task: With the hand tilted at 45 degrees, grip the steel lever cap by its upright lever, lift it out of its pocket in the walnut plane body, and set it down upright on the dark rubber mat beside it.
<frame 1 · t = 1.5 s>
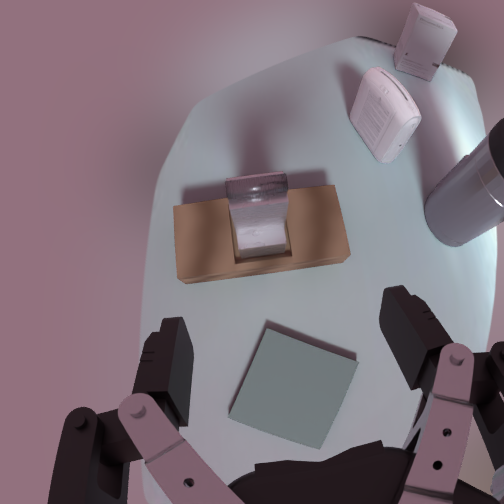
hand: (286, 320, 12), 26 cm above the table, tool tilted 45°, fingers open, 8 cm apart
rubber mat: (293, 390, 35), on the table
photo printer: (372, 138, 44), on the table
plane body: (260, 239, 40), on the table
skincare box: (412, 68, 48), on the table
lever cap: (259, 231, 37), point 3 cm above the table, touching plane body
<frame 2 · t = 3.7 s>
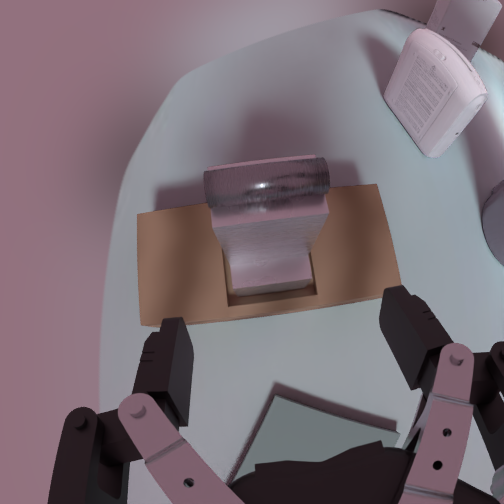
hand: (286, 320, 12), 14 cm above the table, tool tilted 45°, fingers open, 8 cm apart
rubber mat: (310, 472, 22), on the table
photo printer: (413, 125, 31), on the table
plane body: (266, 263, 27), on the table
skincare box: (446, 48, 36), on the table
lever cap: (266, 254, 24), point 3 cm above the table, touching plane body
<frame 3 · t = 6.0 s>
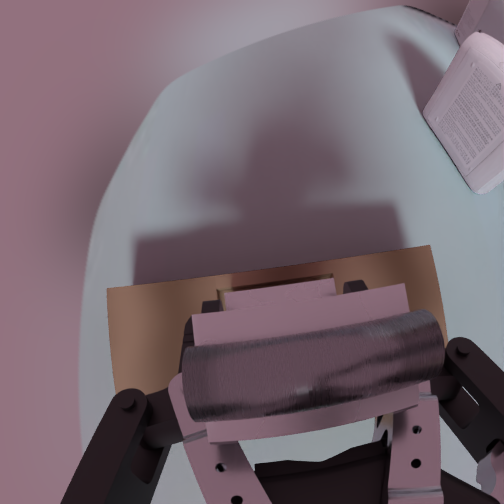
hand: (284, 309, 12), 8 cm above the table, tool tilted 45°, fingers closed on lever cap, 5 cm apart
photo printer: (457, 150, 24), on the table
plane body: (280, 347, 20), on the table
skincare box: (478, 53, 29), on the table
lever cap: (283, 348, 17), point 3 cm above the table, touching gripper, plane body
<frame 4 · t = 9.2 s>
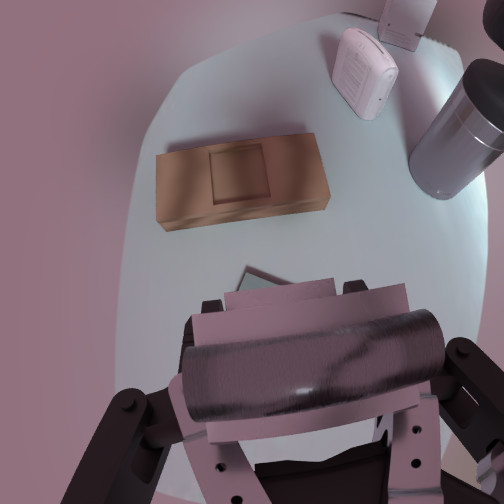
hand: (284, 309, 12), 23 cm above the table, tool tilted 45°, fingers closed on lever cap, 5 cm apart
rubber mat: (275, 341, 34), on the table
photo printer: (354, 98, 43), on the table
plane body: (240, 187, 39), on the table
skincare box: (396, 40, 48), on the table
lever cap: (283, 348, 17), point 18 cm above the table, touching gripper
when the fingers open (7 cm above the table, at t = 12.6 s): lever cap drops 1 cm, resting on rubber mat.
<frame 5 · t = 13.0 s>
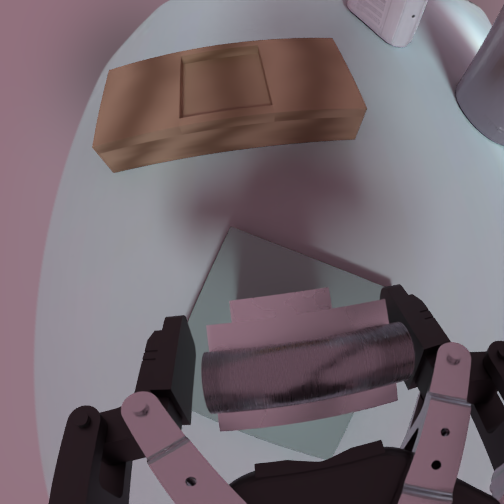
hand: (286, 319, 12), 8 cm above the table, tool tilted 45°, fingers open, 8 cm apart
rubber mat: (280, 347, 19), on the table
photo printer: (377, 26, 29), on the table
plane body: (227, 109, 25), on the table
lever cap: (282, 350, 18), point 1 cm above the table, touching rubber mat
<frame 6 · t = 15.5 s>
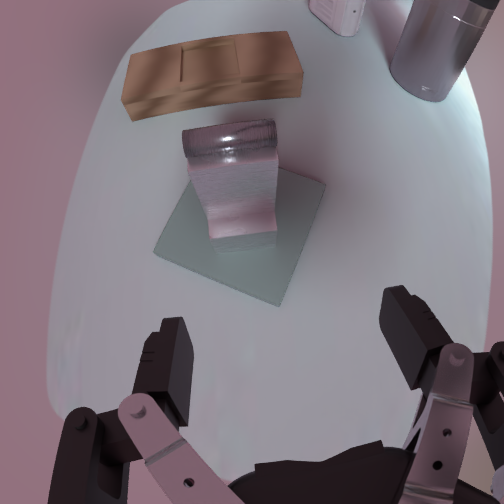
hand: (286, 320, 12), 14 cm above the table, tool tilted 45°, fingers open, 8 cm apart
rubber mat: (241, 220, 28), on the table
photo printer: (332, 22, 38), on the table
plane body: (212, 81, 34), on the table
lever cap: (242, 218, 27), point 1 cm above the table, touching rubber mat
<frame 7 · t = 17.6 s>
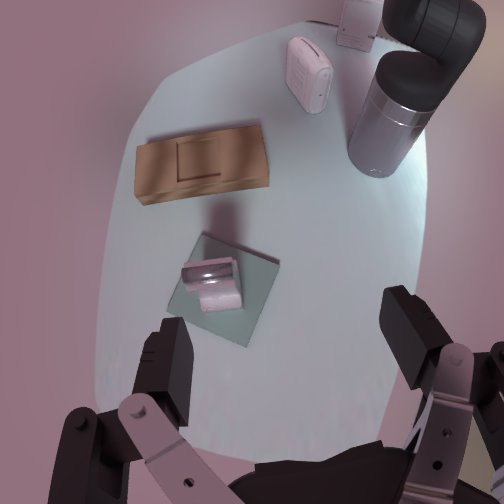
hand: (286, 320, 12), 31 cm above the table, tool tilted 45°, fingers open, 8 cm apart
rubber mat: (223, 290, 43), on the table
photo printer: (304, 96, 52), on the table
plane body: (202, 170, 48), on the table
skincare box: (353, 43, 57), on the table
lever cap: (222, 290, 42), point 1 cm above the table, touching rubber mat
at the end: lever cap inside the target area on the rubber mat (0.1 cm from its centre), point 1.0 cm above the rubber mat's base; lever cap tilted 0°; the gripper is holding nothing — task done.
